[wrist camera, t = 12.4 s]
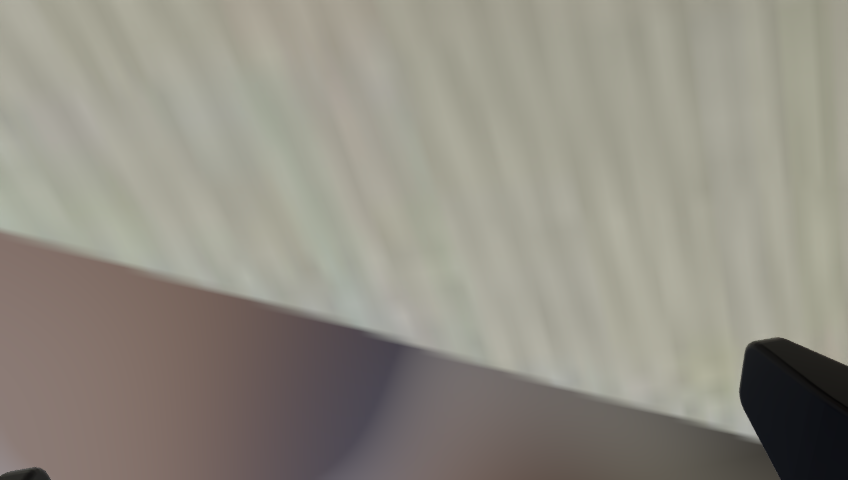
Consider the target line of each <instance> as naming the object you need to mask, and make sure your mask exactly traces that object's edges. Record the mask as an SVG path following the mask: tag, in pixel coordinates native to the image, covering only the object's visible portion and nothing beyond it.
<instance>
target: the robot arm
mask: <svg viewBox="0 0 848 480" xmlns="http://www.w3.org/2000/svg"><path fill="white" fill-rule="evenodd" d="M739 393H740V400H741V404H742V406H743V409H744V411H745V413H746V415H747V417H748V418H749V420H750V422H751V424H752V426H753V428H754V430H755V432H756V434H757V436H758V437H759V439H760V441H761V443H762V445H763V447H764V449H765V451H766V453H767V454H768V456H769V458H770V460H771V462H772V464H773V466H774V468H775V470H776V472H777V474H778V475H779V477H780V479H781V480H848V366H847V365H844V364H842V363H840V362H837V361H835V360H833V359H831V358H828V357H826V356H824V355H821V354H819V353H817V352H814V351H812V350H810V349H808V348H805V347H803V346H801V345H798V344H796V343H794V342H792V341H789V340H787V339H784V338H780V337H777V338H770V339H764V340H758V341H753V342H751V343H749V344H748V346H747V347H746V350H745V354H744V361H743V368H742V375H741V381H740V388H739ZM0 480H51V479H50V478H49V476H48V474H47V473H46V471H44V470H43V469H41V468H36V467H33V468H28V469H22V470H16V471H10V472H7V473H5V474H3V475H1V476H0Z"/></svg>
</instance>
